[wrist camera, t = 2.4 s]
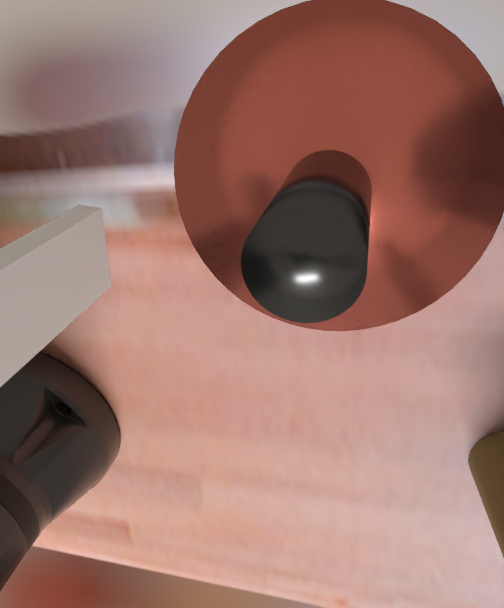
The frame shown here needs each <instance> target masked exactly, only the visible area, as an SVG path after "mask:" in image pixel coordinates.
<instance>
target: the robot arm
mask: <svg viewBox="0 0 504 608" xmlns="http://www.w3.org/2000/svg"><path fill="white" fill-rule="evenodd" d="M110 287H111V279H110V271H109V263H108V255H107V247H106V239H105V231H104V223H103V215H102V208H97V207H91V206H85V205H78V206H76V207H74V208H72V209H71V210H69V211H67V212H65V213H63V214H62V215H60V216H58V217H56V218H54V219H53V220H51V221H49V222H47V223H45V224H44V225H42V226H40V227H38V228H36V229H35V230H33V231H31V232H29V233H27V234H26V235H24V236H22V237H20V238H18V239H17V240H15V241H13V242H11V243H9V244H8V245H6V246H4V247H2V248H0V592H1V591H2V589H3V588H4V586H5V585H6V583H7V582H8V580H9V578H10V577H11V576H12V574H13V573H14V571H15V570H16V568H17V567H18V565H19V564H20V562H21V561H22V559H23V558H24V556H25V555H26V553H27V552H28V550H29V549H30V547H31V546H32V545H33V543H34V542H35V540H36V539H37V537H38V536H39V535H40V533H41V532H42V530H43V529H44V528H45V527H46V526H47V525H48V524H49V523H51V522H52V521H53V520H54V519H55V518H57V517H58V516H59V515H60V514H62V513H63V512H64V511H65V510H66V509H68V508H69V507H70V506H71V505H72V504H74V503H75V502H76V501H77V500H78V499H79V498H81V497H82V496H83V495H84V494H85V493H86V492H87V491H89V490H90V489H91V488H93V487H94V486H95V485H96V484H97V483H99V481H100V480H101V479H102V478H103V477H104V475H105V474H106V472H107V471H108V469H109V468H110V466H111V465H112V463H113V461H114V460H115V458H116V456H117V454H118V452H119V448H120V434H119V429H118V426H117V423H116V420H115V418H114V416H113V414H112V412H111V410H110V408H109V407H108V405H107V404H106V402H105V401H104V400H103V398H102V397H101V396H100V395H99V393H98V392H97V391H96V390H95V389H94V388H93V387H92V386H91V385H90V384H89V383H88V382H87V381H86V380H85V379H83V378H82V377H81V376H80V375H79V374H77V373H76V372H75V371H73V370H72V369H70V368H69V367H67V366H66V365H64V364H63V363H61V362H59V361H57V360H55V359H53V358H51V357H49V356H47V355H45V354H42V353H40V351H41V350H42V349H43V348H44V347H45V346H46V345H47V344H48V343H50V342H51V341H52V340H53V339H54V338H55V337H56V336H57V335H58V334H59V333H60V332H62V331H63V330H64V329H65V328H66V327H67V326H68V325H69V324H70V323H71V322H73V321H74V320H75V319H76V318H77V317H78V316H79V315H80V314H81V313H82V312H84V311H85V310H86V309H87V308H88V307H89V306H90V305H91V304H92V303H93V302H95V301H96V300H97V299H98V298H99V297H100V296H101V295H102V294H103V293H104V292H106V291H107V290H108V289H109V288H110Z"/></svg>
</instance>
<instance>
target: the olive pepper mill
mask: <svg viewBox="0 0 504 608" xmlns="http://www.w3.org/2000/svg"><path fill="white" fill-rule="evenodd" d="M468 463H469V466H470V470H471V473H472V475H473V478H474V481H475V483H476V486H477V489H478V491H479V494H480V497H481V499H482V502H483V504H484V507H485V510H486V512H487V515H488V518H489V520H490V523H491V526H492V528H493V531H494V533H495V536H496V539H497V541H498V544H499V547H500V549H501V552H502V554H503V557H504V431H501V432H498V433H494V434H491V435H488V436H487V437H485V438H484V439H482V440H481V441H479V442H477V444H476V445H475V446H474V447H473V449H472V450H471V451H470V455H469V459H468Z"/></svg>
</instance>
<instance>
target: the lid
mask: <svg viewBox="0 0 504 608" xmlns="http://www.w3.org/2000/svg"><path fill="white" fill-rule="evenodd" d="M174 177H175V188H176V196H177V200H178V205H179V210H180V214H181V216H182V219H183V222H184V225H185V228H186V231H187V233H188V235H189V237H190V239H191V241H192V243H193V246H194V247H195V249H196V251H197V252H198V254H199V255H200V257H201V259H202V260H203V262H204V263H205V264H206V266H207V267H208V268H209V269H210V271H211V272H212V273H213V274H214V276H215V277H216V278H217V279H218V280H219V281H220V282H221V283H222V284H223V285H224V286H225V287H226V288H227V289H228V290H229V291H231V292H232V293H233V294H234V295H236V296H237V297H238V298H239V299H241V300H242V301H244V302H245V303H247V304H248V305H250V306H251V307H253V308H255V309H256V310H258V311H260V312H262V313H264V314H266V315H268V316H270V317H272V318H275V319H278V320H280V321H283V322H286V323H289V324H292V325H296V326H300V327H304V328H310V329H318V330H326V331H349V330H361V329H367V328H372V327H377V326H381V325H385V324H388V323H391V322H394V321H398V320H400V319H402V318H405V317H407V316H409V315H412V314H414V313H416V312H418V311H420V310H422V309H423V308H425V307H427V306H428V305H430V304H432V303H434V302H435V301H436V300H438V299H439V298H440V297H442V296H443V295H444V294H446V293H447V292H448V291H450V290H451V289H452V288H453V287H454V286H455V285H456V284H457V283H458V282H459V281H461V280H462V279H463V278H464V277H465V276H466V275H467V274H468V272H469V271H470V270H471V269H472V267H473V266H474V265H475V264H476V263H477V261H478V260H479V259H480V258H481V256H482V254H483V253H484V251H485V250H486V248H487V246H488V245H489V243H490V242H491V240H492V238H493V236H494V234H495V231H496V229H497V227H498V225H499V223H500V221H501V218H502V215H503V212H504V107H503V103H502V100H501V98H500V96H499V93H498V91H497V89H496V87H495V85H494V83H493V81H492V79H491V77H490V75H489V74H488V73H487V71H486V70H485V68H484V67H483V65H482V64H481V63H480V61H479V60H478V58H477V57H476V56H475V54H474V53H473V52H472V51H471V50H470V49H469V48H468V47H467V46H466V45H465V44H464V43H463V42H461V40H460V39H459V38H458V37H457V36H456V35H455V34H453V33H452V32H450V31H449V30H447V29H446V28H445V27H443V26H442V25H441V24H439V23H438V22H437V21H435V20H433V19H431V18H429V17H427V16H425V15H423V14H421V13H419V12H417V11H415V10H413V9H411V8H408V7H405V6H402V5H399V4H396V3H392V2H389V1H386V0H311V1H306V2H303V3H300V4H297V5H294V6H291V7H288V8H285V9H282V10H279V11H278V12H275V13H274V14H272V15H270V16H268V17H266V18H264V19H262V20H260V21H258V22H257V23H255V24H254V25H252V26H251V27H249V28H248V29H247V30H245V31H244V32H242V33H241V34H240V35H238V36H237V37H236V38H235V39H234V40H233V41H232V42H231V43H229V45H228V46H226V47H225V48H224V49H223V50H222V51H221V52H220V53H219V54H218V56H217V57H216V58H215V59H214V61H213V62H212V63H211V64H210V65H209V67H208V68H207V69H206V71H205V72H204V74H203V75H202V77H201V78H200V80H199V82H198V83H197V85H196V87H195V88H194V90H193V92H192V95H191V97H190V99H189V102H188V104H187V106H186V108H185V110H184V113H183V117H182V120H181V124H180V127H179V131H178V136H177V142H176V148H175V162H174Z"/></svg>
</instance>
